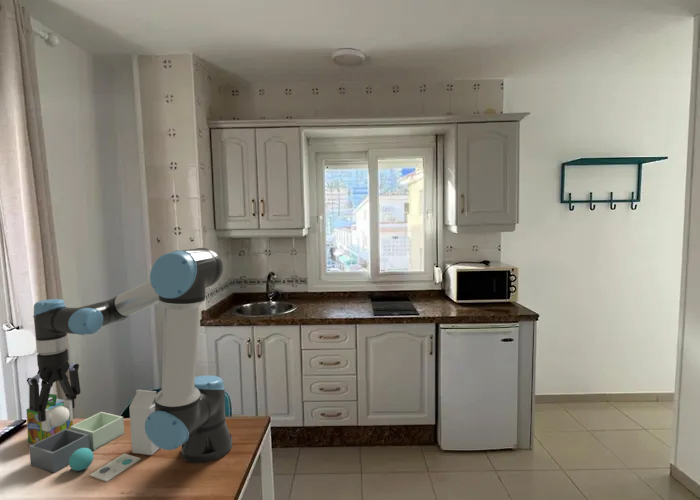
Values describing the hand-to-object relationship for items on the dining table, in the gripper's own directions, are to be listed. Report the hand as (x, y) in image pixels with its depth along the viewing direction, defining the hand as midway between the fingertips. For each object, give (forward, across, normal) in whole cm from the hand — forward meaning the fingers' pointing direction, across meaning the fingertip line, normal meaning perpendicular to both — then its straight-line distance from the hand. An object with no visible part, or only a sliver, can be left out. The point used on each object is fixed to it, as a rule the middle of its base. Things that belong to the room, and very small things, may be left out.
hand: (57, 424), depth 121 cm
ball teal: (+11, +1, +11) cm, 16 cm away
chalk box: (+11, -7, -16) cm, 21 cm away
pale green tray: (+11, -12, 0) cm, 16 cm away
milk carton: (+11, -14, +21) cm, 28 cm away
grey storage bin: (+11, 0, 0) cm, 11 cm away
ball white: (0, 0, 0) cm, 0 cm away
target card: (+11, -3, +20) cm, 23 cm away
